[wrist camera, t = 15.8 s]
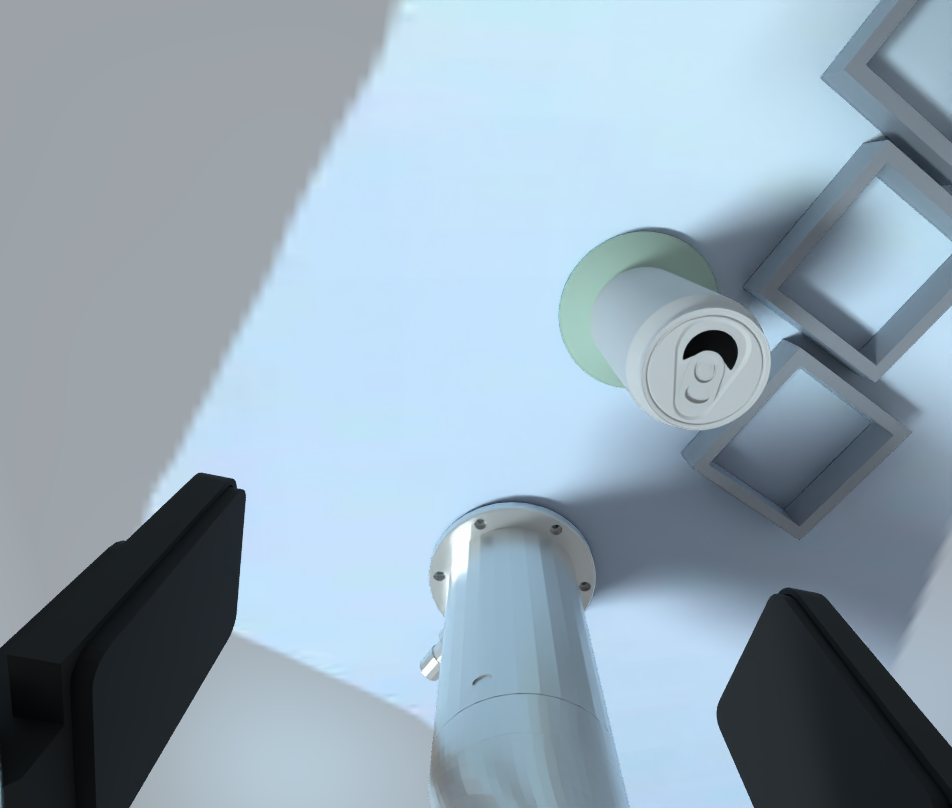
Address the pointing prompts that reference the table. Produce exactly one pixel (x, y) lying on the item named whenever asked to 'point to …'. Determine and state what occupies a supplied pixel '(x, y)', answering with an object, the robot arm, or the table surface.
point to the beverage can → (680, 348)
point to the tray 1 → (888, 93)
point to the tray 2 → (868, 161)
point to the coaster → (602, 269)
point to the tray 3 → (834, 478)
